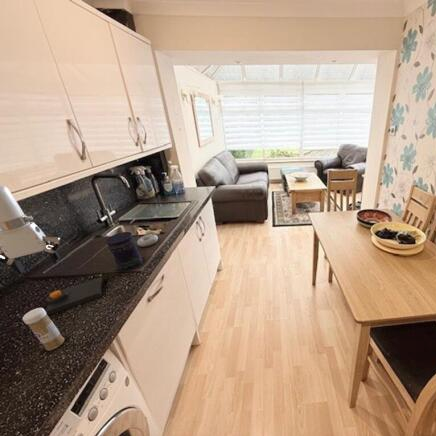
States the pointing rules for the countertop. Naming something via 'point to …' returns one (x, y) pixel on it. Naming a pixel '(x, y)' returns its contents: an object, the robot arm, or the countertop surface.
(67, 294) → the scale
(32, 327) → the sprinkles bottle
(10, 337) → the countertop surface
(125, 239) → the storage jar
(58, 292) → the tare button
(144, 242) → the donut
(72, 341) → the countertop surface
